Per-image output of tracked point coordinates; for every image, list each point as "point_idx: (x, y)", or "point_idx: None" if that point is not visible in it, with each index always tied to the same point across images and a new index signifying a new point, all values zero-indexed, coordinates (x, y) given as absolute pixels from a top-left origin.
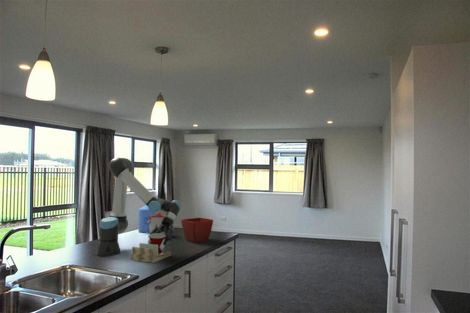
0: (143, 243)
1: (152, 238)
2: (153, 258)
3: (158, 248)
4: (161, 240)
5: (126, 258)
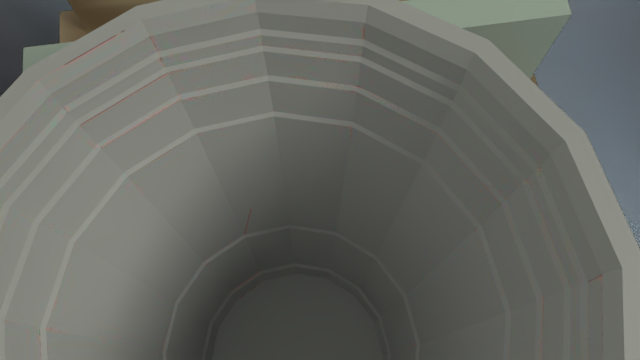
0: (466, 14)
1: (245, 34)
2: (62, 16)
3: (180, 272)
4: (37, 274)
5: (595, 20)
